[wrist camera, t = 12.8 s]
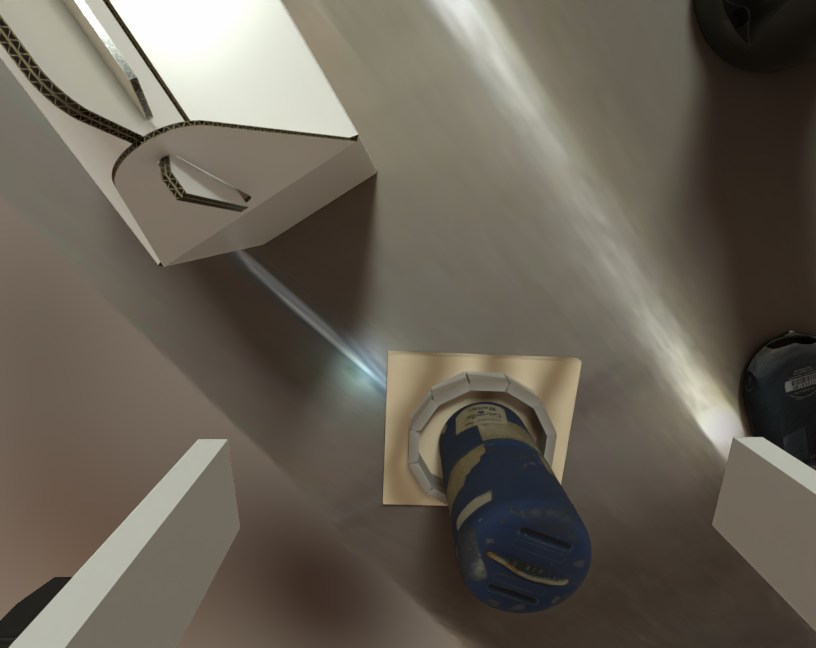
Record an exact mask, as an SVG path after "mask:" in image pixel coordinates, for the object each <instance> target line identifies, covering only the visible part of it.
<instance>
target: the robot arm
mask: <svg viewBox="0 0 816 648" xmlns="http://www.w3.org/2000/svg"><path fill="white" fill-rule="evenodd" d="M694 2H695V9H696V14H697V18H698V21H699V24H700V27H701V29H702V32H703V34H704V36H705V38H706V39H707V41H708V42H709V44H710V45H711V47H712V48H713V49H714V50H715V51H716V52H717V53H718V54H719V55H720V56H721V57H722V58H723V59H725V60H726V61H728V62H729V63H731V64H733V65H735V66H737V67H739V68H742V69H745V70H749V71H754V72H773V71H779V70H784V69H787V68H790V67H793V66H796V65H799V64H801V63H804V62H806V61H809V60H812V59H814V58H816V0H694ZM712 526H713V527H714V528H715V529H716V530H717V531H718V532H719V533H720V534H721V535H722V536H723V537H724V538H725V539H726V540H727V541H728V542H729V543H730V544H731V545H732V546H733V547H734V548H735V549H736V550H737V551H738V552H739V553H740V554H741V555H742V556H743V557H744V558H745V559H746V561H747V562H748V563H749V564H750V565H751V566H752V567H753V568H754V569H755V570H756V571H757V572H758V573H759V574H760V575H761V576H762V577H763V578H764V579H765V580H766V581H767V582H768V583H769V584H770V585H771V586H772V587H773V588H774V589H775V590H776V591H777V592H778V593H779V594H780V595H781V596H782V597H783V599H784V600H785V601H786V602H787V603H788V604H789V605H790V606H791V607H792V608H793V609H794V610H795V611H796V612H797V613H798V614H799V615H800V616H801V617H802V618H803V619H804V620H805V621H806V622H807V623H808V624H809V625H810V626H811V627H812V628H813V629H814V630H815V631H816V471H815V470H814V469H812V468H811V467H809V466H807V465H806V464H804V463H803V462H801V461H800V460H798V459H796V458H795V457H793V456H792V455H790V454H789V453H787V452H785V451H784V450H782V449H781V448H779V447H777V446H776V445H774V444H773V443H771V442H770V441H768V440H766V439H765V438H763V437H733V441H732V445H731V449H730V453H729V457H728V461H727V465H726V469H725V473H724V478H723V482H722V486H721V490H720V494H719V498H718V502H717V506H716V510H715V515H714V519H713V523H712ZM239 528H240V523H239V516H238V509H237V501H236V494H235V487H234V480H233V473H232V465H231V458H230V451H229V444H228V439H216V440H215V439H207V440H206V439H205V440H204V439H200V440H197V442H196V443H195V444H194V445H193V446H192V447H191V448H190V449H189V450H188V451H187V452H186V453H185V455H184V456H183V457H182V458H181V459H180V460H179V461H178V462H177V463H176V464H175V466H174V467H173V468H172V469H171V470H170V471H169V472H168V473H167V474H166V475H165V477H164V478H163V479H162V480H161V481H160V482H159V483H158V484H157V485H156V486H155V487H154V489H153V490H152V491H151V492H150V493H149V494H148V495H147V496H146V498H144V500H143V501H142V502H141V503H140V504H139V505H138V506H137V507H136V508H135V510H134V511H133V512H132V513H131V514H130V515H129V516H128V517H127V518H126V519H125V520H124V522H123V523H122V524H121V525H120V526H119V527H118V528H117V529H116V530H115V531H114V533H113V534H112V535H111V536H110V537H109V538H108V539H107V540H106V541H105V542H104V543H103V545H102V546H101V547H100V548H99V549H98V550H97V551H96V552H95V553H94V554H93V555H92V557H91V558H90V559H89V560H88V561H87V562H86V563H85V564H84V565H83V566H82V568H81V569H80V570H79V571H78V572H77V573H76V574H75V575H74V576H73V577H55V578H53V579H52V580H50V581H49V582H47V583H46V584H44V585H43V586H42V587H40V588H39V589H37V590H36V591H34V592H33V593H32V594H30V595H29V596H27V597H26V598H25V599H23V600H22V601H20V602H19V603H18V604H16V605H15V607H13V608H12V609H11V610H10V612H8V614H6V616H5V617H4V618H3V619H2V620H1V621H0V648H177V646H178V644H179V642H180V641H181V639H182V637H183V635H184V633H185V631H186V629H187V627H188V625H189V623H190V622H191V620H192V617H193V616H194V614H195V612H196V610H197V608H198V606H199V605H200V603H201V601H202V599H203V597H204V595H205V593H206V591H207V589H208V587H209V586H210V584H211V582H212V580H213V578H214V576H215V574H216V572H217V570H218V568H219V566H220V565H221V563H222V561H223V559H224V557H225V555H226V553H227V551H228V549H229V547H230V545H231V544H232V542H233V540H234V538H235V536H236V534H237V532H238V530H239Z"/></svg>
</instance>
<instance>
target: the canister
mask: <svg viewBox="0 0 816 648" xmlns="http://www.w3.org/2000/svg"><path fill="white" fill-rule="evenodd" d="M439 451H440V457H441V466H442V474H443V481H444V488H445V494H446V499H447V502H448V507H449V512H450V520H451V526H452V527H451V530H452V531H453V537H454V545H455V554H456V559H457V564H458V568H459V571H460V574H461V576H462V579H463V581H464V583H465V584H466V586H467V587H468V589H469V590H470V591H471V592H472V593H473V594H474V595H475V596H476V597H477V598H478V599H479V600H480V601H482V602H483V603H485V604H487V605H489V606H491V607H493V608H495V609H499V610H502V611H506V612H512V613H531V612H538V611H542V610H546V609H548V608H551V607H553V606H555V605H557V604H559V603H561V602H563V601H564V600H566V599H567V598H568V597H570V596H571V595H572V594H573V593H574V592H575V591H576V590H577V589H578V588H579V586H580V585H581V584H582V582H583V581H584V579H585V577H586V575H587V573H588V570H589V567H590V562H591V543H590V539H589V535H588V532H587V530H586V528H585V525H584V524H583V522H582V520H581V518H580V516H579V515H578V513H577V511H576V509H575V507H574V506H573V504H572V503H571V501H570V500H569V498H568V496H567V495H566V493H565V491H564V489H563V488H562V486H561V484H560V483H559V481H558V479H557V478H556V476H555V474H554V472H553V470H552V469H551V467H550V465H549V464H548V462H547V461H546V459H545V458H544V457H543V455H542V453H541V451H540V449H539V448H538V446H537V445H536V443H535V441H534V439H533V438H532V436H531V435H530V433H529V431H528V430H527V428H526V426H525V424H524V423H523V421H522V420H521V419H520V417H519V416H518V415H517V414H516V413H515V412H513V411H512V410H511V409H509V408H507V407H505V406H503V405H501V404H497V403H494V402H477V403H472V404H469V405H467V406H465V407H463V408H461V409H459V410H458V411H456V412H455V413H454V414H453V415H452V416H451V417H450V418H449V419H448V420H447V422H446V423H445V425H444V427H443V429H442V431H441V435H440V440H439Z"/></svg>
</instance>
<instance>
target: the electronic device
mask: <svg viewBox="0 0 816 648" xmlns="http://www.w3.org/2000/svg"><path fill="white" fill-rule="evenodd" d="M784 339H800V340H801V341H804V342H806V343H809V344H798V343H792V344H790V345H787V346H784V347H781V348H778V349H770V348H768V347H767V346H769V345H771V344H772V343H773V342H777V341H780V340H784ZM744 399H745V407H746V409H747V414H748V417H749V421H750V426H751V430H752V435H753V437H763V438H765V439H766V440H768V441H770V442H771V443H773V444H774V445H776V446H777V447H779V448H781V449H782V450H784V451H785V452H787V453H789V454H790V455H792V456H793V457H795V458H796V459H798V460H800V461H801V462H803V463H804V464H806V465H807V466H809V467H811V468H816V337H815V336H810V335H805V334H799V333H796V332H794V331H792V330H790V331H789V333H788V334H786V335H783V336H780V337H778V338H776V339H775V340H773V341H771V342H770V343H769V344H767V345H766V346H765V347H763V348H762V349H761V350H760V351H759V352H758V353H757V354H756V355H755V356H754V357H753V359H752V360H751V362H750V364H749V365H748V367H747V369H746V373H745V393H744Z"/></svg>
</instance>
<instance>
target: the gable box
mask: <svg viewBox="0 0 816 648" xmlns="http://www.w3.org/2000/svg"><path fill="white" fill-rule="evenodd" d="M0 58H1V60H2V61H3V62H4V64H5V65H6V66H7V68H8V69H9V70H10V72H11V73H12V74H13V75H14V77H15V78H16V79H17V81H18V82H19V83H20V85H21V86H22V87H23V89H24V90H25V91H26V93H27V94H28V95H29V96H30V98H31V99H32V100H33V102H34V103H35V104H36V106H37V107H38V108H39V110H40V111H41V112H42V114H43V115H44V116H45V117H46V119H47V120H48V121H49V123H50V124H51V125H52V127H53V128H54V129H55V131H56V132H57V133H58V134H59V136H60V137H61V138H62V140H63V141H64V142H65V144H66V145H67V146H68V148H69V149H70V150H71V152H72V153H73V154H74V155H75V157H76V158H77V159H78V161H79V162H80V163H81V165H82V166H83V167H84V169H85V170H86V171H87V173H88V174H89V175H90V176H91V178H92V179H93V180H94V182H95V183H96V184H97V186H98V187H99V188H100V190H101V191H102V192H103V194H104V195H105V196H106V197H107V199H108V200H109V201H110V203H111V204H112V205H113V207H114V208H115V209H116V211H117V212H118V213H119V214H120V216H121V217H122V218H123V220H124V221H125V222H126V224H127V225H128V226H129V228H130V229H131V230H132V232H133V233H134V234H135V235H136V237H137V238H138V239H139V241H140V242H141V243H142V245H143V246H144V247H145V249H146V250H147V251H148V253H149V254H150V255H151V256H152V258H153V259H154V260H155V262H156V263H157V264H158V266H162V267H166V266H171V265H175V264H180V263H184V262H188V261H193V260H197V259H202V258H206V257H211V256H215V255H220V254H224V253H229V252H233V251H237V250H242V249H246V248H251V247H255V246H260V245H264V244H266V243H267V242H269V241H270V240H272V239H274V238H275V237H277V236H278V235H280V234H281V233H283V232H285V231H286V230H288V229H289V228H291V227H292V226H294V225H296V224H297V223H299V222H300V221H302V220H303V219H305V218H307V217H308V216H310V215H311V214H313V213H314V212H316V211H318V210H319V209H321V208H322V207H324V206H325V205H327V204H329V203H330V202H332V201H333V200H335V199H336V198H338V197H340V196H341V195H343V194H344V193H346V192H347V191H349V190H351V189H352V188H354V187H355V186H357V185H358V184H360V183H362V182H363V181H365V180H366V179H368V178H369V177H371V176H373V175H374V174H375V173H376V172H377V168H376V166H375V164H374V163H373V161H372V159H371V157H370V155H369V153H368V151H367V149H366V147H365V145H364V143H363V141H362V140H361V138H360V136H359V134H358V132H357V130H356V129H355V127H354V125H353V123H352V122H351V120H350V118H349V116H348V115H347V113H346V111H345V109H344V108H343V106H342V104H341V102H340V101H339V99H338V97H337V96H336V94H335V92H334V90H333V89H332V87H331V85H330V83H329V82H328V80H327V78H326V76H325V75H324V73H323V71H322V69H321V68H320V66H319V64H318V62H317V61H316V59H315V57H314V56H313V54H312V52H311V50H310V49H309V47H308V45H307V43H306V42H305V40H304V38H303V36H302V35H301V33H300V31H299V29H298V28H297V26H296V24H295V22H294V21H293V19H292V17H291V15H290V14H289V12H288V10H287V9H286V7H285V5H284V3H283V2H282V0H0Z"/></svg>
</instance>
